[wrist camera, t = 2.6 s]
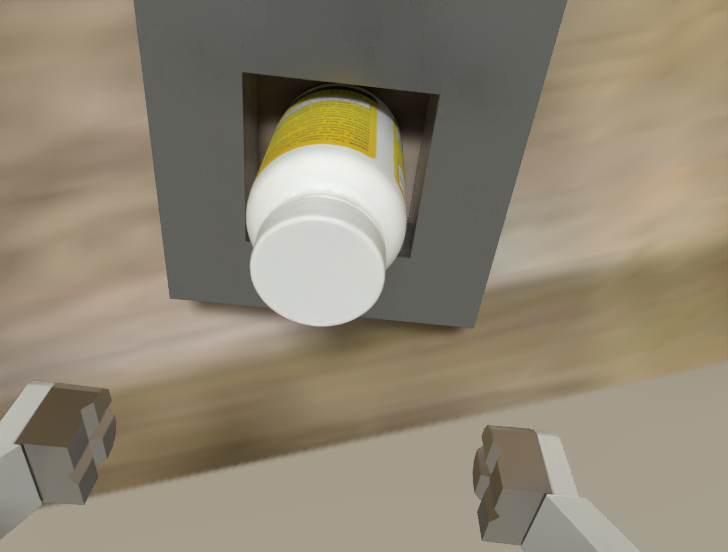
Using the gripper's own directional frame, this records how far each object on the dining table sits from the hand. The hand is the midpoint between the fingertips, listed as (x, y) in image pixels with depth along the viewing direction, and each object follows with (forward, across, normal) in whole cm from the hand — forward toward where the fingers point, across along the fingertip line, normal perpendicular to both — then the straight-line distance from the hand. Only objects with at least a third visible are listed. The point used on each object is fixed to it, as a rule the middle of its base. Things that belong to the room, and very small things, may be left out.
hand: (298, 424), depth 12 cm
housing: (+15, 0, -1) cm, 15 cm away
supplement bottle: (+15, 0, -1) cm, 15 cm away
